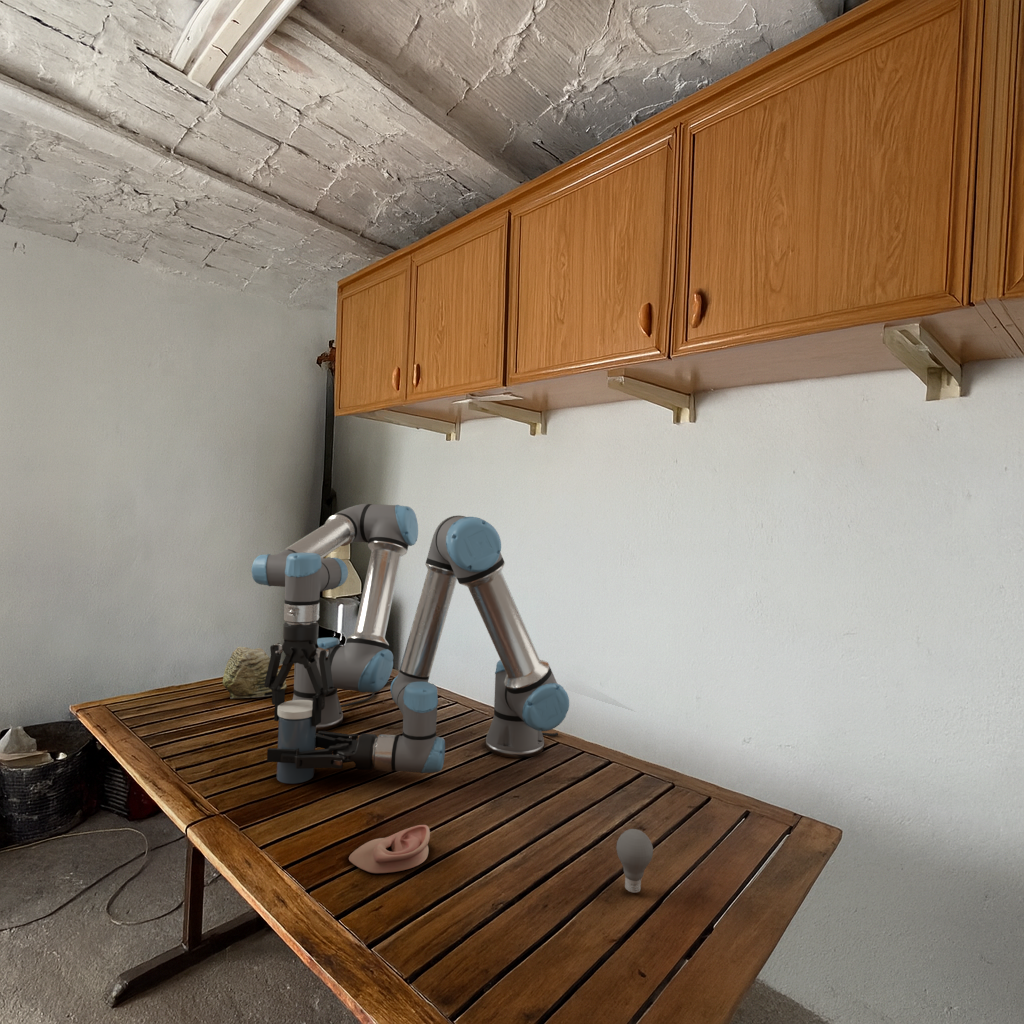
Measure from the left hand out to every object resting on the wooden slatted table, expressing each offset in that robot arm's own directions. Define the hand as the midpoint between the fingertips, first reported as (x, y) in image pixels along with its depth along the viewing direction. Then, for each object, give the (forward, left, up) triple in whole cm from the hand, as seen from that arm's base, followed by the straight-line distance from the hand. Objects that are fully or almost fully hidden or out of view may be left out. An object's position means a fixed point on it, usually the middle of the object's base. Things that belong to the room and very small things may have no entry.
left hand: (297, 721), depth 143 cm
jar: (0, 0, -12) cm, 12 cm away
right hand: (+3, -4, -6) cm, 8 cm away
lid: (0, 0, +3) cm, 3 cm away
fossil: (-23, -59, -12) cm, 65 cm away
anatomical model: (+7, +40, -12) cm, 43 cm away
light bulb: (-14, +77, -12) cm, 80 cm away
